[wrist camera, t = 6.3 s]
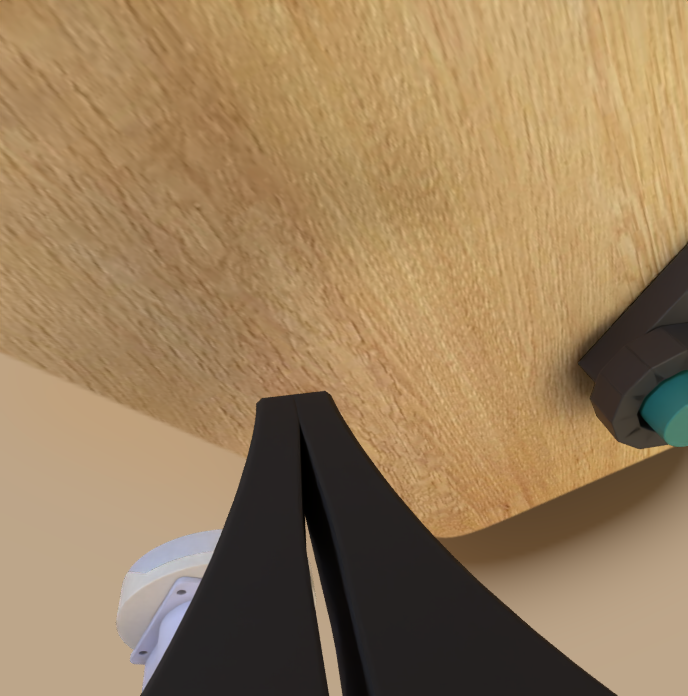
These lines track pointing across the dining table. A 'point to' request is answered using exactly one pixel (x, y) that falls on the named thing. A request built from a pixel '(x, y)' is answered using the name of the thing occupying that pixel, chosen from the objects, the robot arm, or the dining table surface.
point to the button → (669, 409)
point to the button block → (641, 355)
